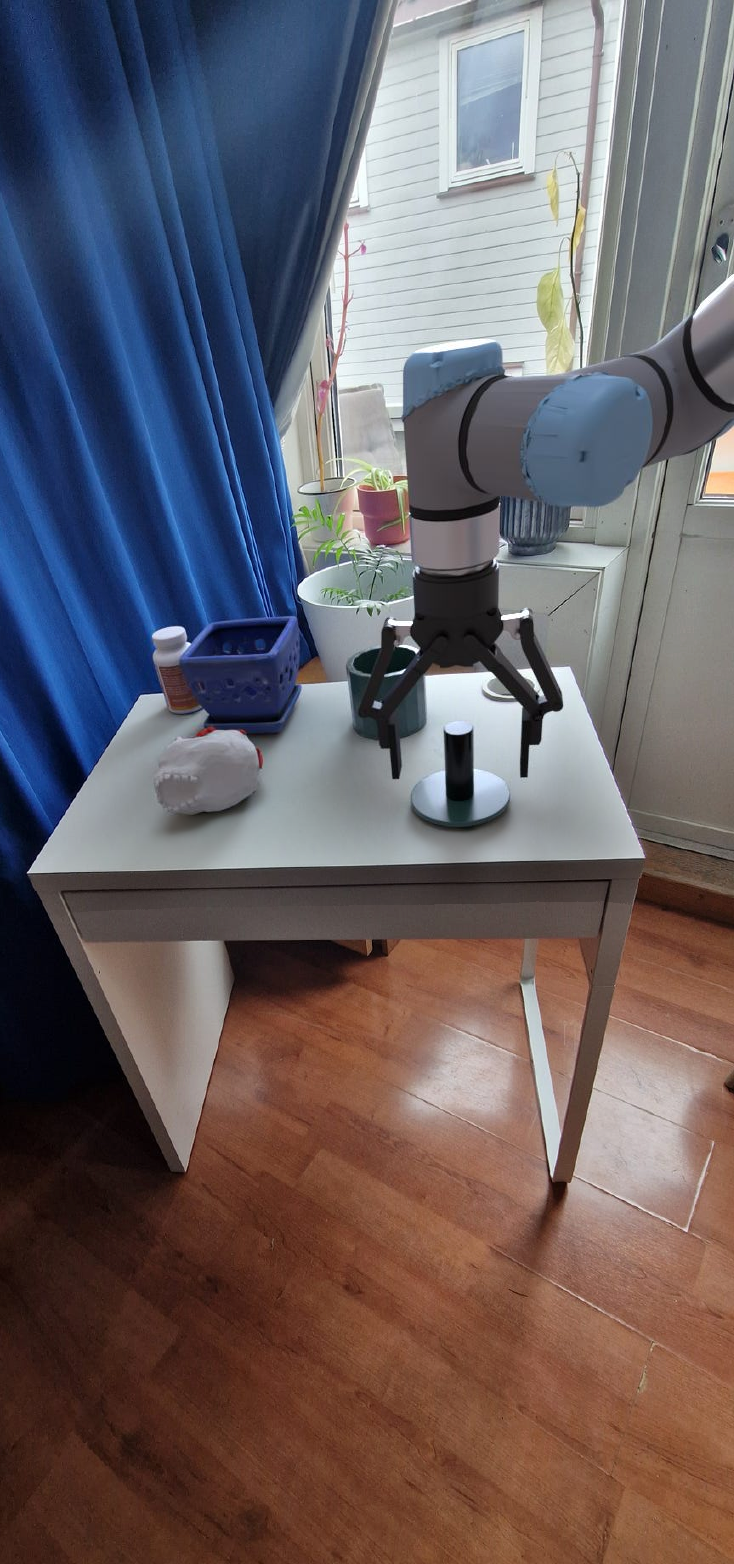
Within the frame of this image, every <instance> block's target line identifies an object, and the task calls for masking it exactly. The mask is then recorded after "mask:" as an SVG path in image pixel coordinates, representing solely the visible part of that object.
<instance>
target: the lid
mask: <svg viewBox="0 0 734 1564" xmlns="http://www.w3.org/2000/svg"><path fill="white" fill-rule="evenodd" d="M474 736H475V734H474V725H473V723H471V722H470V721H465V720H453V721H450V722H448V723H447V724H445V725H444V727H443V749H444V752H443V754H444V769H443V770H440V771H436V772H434V773H431V774H429V775H427V776H425V777H424V778H422V779H421V780H419V781H418V782H417V783H416V785H415V786H414V787H413V788H412V790H411V793H410V804H411V807H412V809H413V811H414V812H415V813H416V814H417V815H418V817H420V818H422V819H423V820H425V821H426V822H429V823H432V824H435V825H438V826H443V827H452V828H464V827H472V826H478V825H481V824H485V823H487V822H490V821H492V820H494V819H495V818H498V817H499V816H500V815H501V814H502V813H504V812H505V810H507V808H508V806H509V804H510V801H511V789H510V787H509V785H508V783H507V782H506V781H505V780H504V778H501V777H500V776H498V775H496V774H495V773H493V772H490V771H487V770H484V769H479V768H475V752H474V751H475V745H474V744H475V742H474V739H475V738H474Z"/></svg>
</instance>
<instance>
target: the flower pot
mask: <svg viewBox="0 0 734 1564" xmlns="http://www.w3.org/2000/svg"><path fill="white" fill-rule="evenodd" d="M299 629H300V628H299V621H298V618H297V616H294V615H291V616H290V615H289V616H288V615H287V616H269V617H256V618H255V617H254V618H243V619H242V618H241V619H233V620H230V619H229V620H223V621H214V622H210V623H208V624H207V625H206V626H205V627H204V628H203V629H202V631H201V632H200V633H198V634H197V636H196V637H195V638H194V639H193V641H192V642H191V643H190V644H191V645H190V646H189V647H188V648H187V649H186V651H185V652H184V653H183V654H182V656H181V657H180V659H179V664H180V667H181V670H182V673H183V675H184V677H185V679H186V682H187V684H188V686H189V688H190V690H191V692H192V693H193V695H194V697H195V698H196V700H197V701H198V702H199V704H200V705H201V706H202V708H201V709H203V710H204V711H205V712H206V713H207V714H208V715H207V716H206V719H205V720H204V722H203V725H202V726H203V728H204V730H205V729H207V728H208V727H214V728H215V729H216V730H228V729H233V730H240V729H241V730H244V731H245V732H246V734H275V733H276V734H277V733H279V732H280V731H281V730H282V728H283V727H284V725H285V723H286V722H287V720H288V717H289V716H290V714H291V712H292V711H293V709H294V707H295V705H296V703H297V701H298V699H299V697H300V695H301V692H302V688H303V687H302V684H300V683H296V682H297V678H298V673H299V666H300V653H301V646H300V642H301V641H300V630H299ZM259 640H263V642H264V646H265V647H262V648H259V647H258V645H257V643H256V641H259ZM225 644H227V645H229V646H231V648H230V649H231V650H230V651H228V650H225ZM239 648H241V649H242V652H240V651H239ZM198 682H199V683H200V686H201V688H202V691H201V690H200V687H199V684H198Z"/></svg>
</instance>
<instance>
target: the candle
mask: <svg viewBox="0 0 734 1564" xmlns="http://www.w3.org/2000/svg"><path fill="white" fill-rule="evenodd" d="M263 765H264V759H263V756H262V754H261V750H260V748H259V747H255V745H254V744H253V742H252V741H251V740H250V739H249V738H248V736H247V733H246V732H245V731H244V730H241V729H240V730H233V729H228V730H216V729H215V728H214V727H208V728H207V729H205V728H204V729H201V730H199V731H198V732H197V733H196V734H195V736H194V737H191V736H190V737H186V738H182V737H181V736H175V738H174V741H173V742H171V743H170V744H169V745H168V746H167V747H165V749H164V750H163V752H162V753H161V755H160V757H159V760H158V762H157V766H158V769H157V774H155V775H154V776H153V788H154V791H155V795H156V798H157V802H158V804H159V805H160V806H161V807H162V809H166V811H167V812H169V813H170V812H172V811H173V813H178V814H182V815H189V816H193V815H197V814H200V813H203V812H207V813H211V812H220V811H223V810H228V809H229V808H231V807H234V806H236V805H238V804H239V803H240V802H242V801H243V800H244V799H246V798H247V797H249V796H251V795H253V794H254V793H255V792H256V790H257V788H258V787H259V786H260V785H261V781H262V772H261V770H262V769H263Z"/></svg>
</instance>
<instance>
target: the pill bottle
mask: <svg viewBox="0 0 734 1564" xmlns="http://www.w3.org/2000/svg"><path fill="white" fill-rule="evenodd" d="M151 639H152V642H153V646H154V648H156V649H155V650H154V652H153V653H152V660H153V665H154V668H155V671H156V675H157V678H158V681H159V683H160V684H159V685H160V688H161V691H162V694H163V697H164V701H165V704H166V707H167V708H168V710H169V712H171V713H174V714H179V715H180V714H189V713H194V712H197V711H199V710H200V709H203V708H202V706H201V705H200V704H199V702H198V701H197V700H196V698H195V697H194V695H193V693H192V692H191V690H190V688H189V686H188V684H187V682H186V679H185V677H184V675H183V673H182V670H181V667H180V664H179V659H180V657H181V656H182V654H183V653H184V652H185V651H186V649H187V648H188V647H189V646H190V645H191V643H190V642H188V641H187V640H188V636H187V632H186V629H185V628H184V627H183V626H178V625H175V626H167V627H164V628H161V629H158V630H156V631H154V632H153V633H152V635H151ZM198 684H199V687H200V690H201V691H202V688H201V686H200V683H199V682H198Z"/></svg>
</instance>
